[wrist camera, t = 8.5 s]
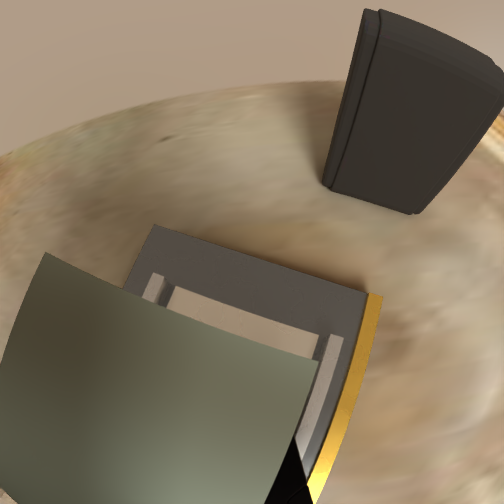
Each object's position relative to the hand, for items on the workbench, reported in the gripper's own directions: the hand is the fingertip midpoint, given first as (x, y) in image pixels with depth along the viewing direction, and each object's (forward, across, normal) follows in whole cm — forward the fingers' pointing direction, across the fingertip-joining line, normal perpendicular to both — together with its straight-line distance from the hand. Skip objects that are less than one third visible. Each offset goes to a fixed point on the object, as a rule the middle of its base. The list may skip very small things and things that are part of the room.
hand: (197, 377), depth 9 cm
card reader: (+20, -6, -5) cm, 21 cm away
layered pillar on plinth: (+4, 0, +6) cm, 7 cm away
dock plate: (+6, 0, +8) cm, 10 cm away
